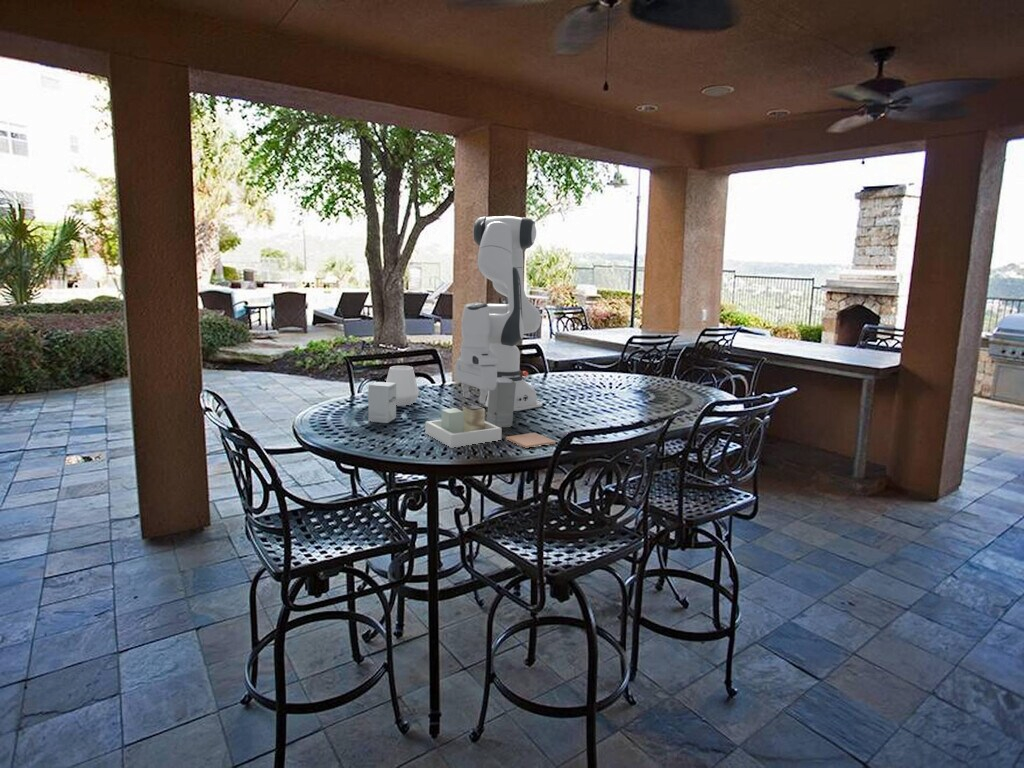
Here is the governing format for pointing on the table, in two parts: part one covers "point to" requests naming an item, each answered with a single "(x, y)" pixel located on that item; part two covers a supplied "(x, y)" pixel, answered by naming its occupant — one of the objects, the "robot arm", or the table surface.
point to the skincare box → (501, 403)
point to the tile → (530, 440)
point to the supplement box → (382, 402)
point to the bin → (463, 434)
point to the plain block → (452, 420)
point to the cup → (404, 384)
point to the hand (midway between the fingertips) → (474, 400)
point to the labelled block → (473, 418)
